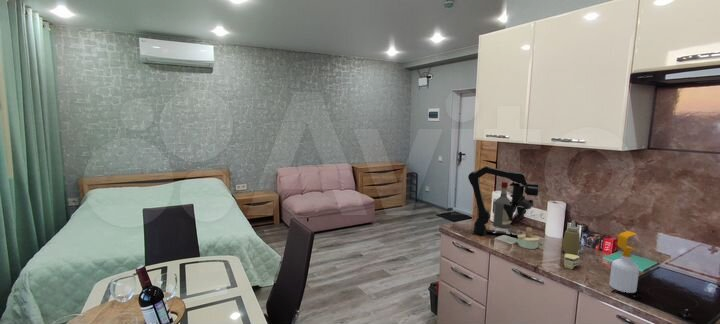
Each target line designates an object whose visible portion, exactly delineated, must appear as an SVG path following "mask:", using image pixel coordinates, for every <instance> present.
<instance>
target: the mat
mask: <svg viewBox="0 0 720 324" xmlns="http://www.w3.org/2000/svg"><path fill="white" fill-rule="evenodd" d="M493 239H495V240H498V241H500V242H504V243H507V244H509V245H513V244H515V243H518V238H517V237H511V236H510V235H506V234H503V235H499V236H497V237H494V238H493Z"/></svg>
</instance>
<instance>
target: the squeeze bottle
mask: <svg viewBox="0 0 720 324" xmlns="http://www.w3.org/2000/svg"><path fill="white" fill-rule="evenodd" d="M576 225H577V224H576V221H575V220H573V219H572V220H571V223H570V225H568V226H567V229H566V230H565V231H564V235H563V239H562V240H563V241H562V244H561V245H562V246H561V247H562V249H563V252H564V254H573V255H578V252H579V251H580V249H581V241H580V240H581V237H580V232H579V228H578V227H577V226H576Z"/></svg>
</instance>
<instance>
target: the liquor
mask: <svg viewBox="0 0 720 324" xmlns="http://www.w3.org/2000/svg"><path fill="white" fill-rule="evenodd" d="M508 185H509V184H508V182H507V181H501V188H500V196H499V197H498V198H497V199H496V200H495V201H494V203H493V204H494V208H493V220H492V221H493V224H492V225H493V226H494V227H496V228H501V229H509V228H510V227H511V222H512V221H510V220H509V218H508V215H507V213H506V211H505V210H504V209H503V205H504V204H507V203H509V204H510V202H512V200H510V199H509V198H508Z"/></svg>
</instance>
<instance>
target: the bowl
mask: <svg viewBox="0 0 720 324" xmlns="http://www.w3.org/2000/svg"><path fill="white" fill-rule="evenodd" d="M517 239H518V242H517V245H518V246H519V247H521V248H523V249H528V250H536V249H537V248H539V241H536V242H531V241H525V240H522V239H519V238H518V237H517Z"/></svg>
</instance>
